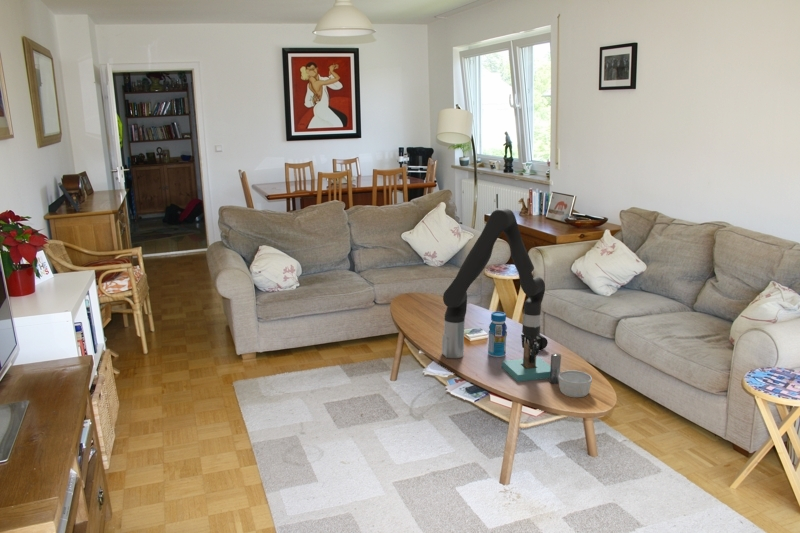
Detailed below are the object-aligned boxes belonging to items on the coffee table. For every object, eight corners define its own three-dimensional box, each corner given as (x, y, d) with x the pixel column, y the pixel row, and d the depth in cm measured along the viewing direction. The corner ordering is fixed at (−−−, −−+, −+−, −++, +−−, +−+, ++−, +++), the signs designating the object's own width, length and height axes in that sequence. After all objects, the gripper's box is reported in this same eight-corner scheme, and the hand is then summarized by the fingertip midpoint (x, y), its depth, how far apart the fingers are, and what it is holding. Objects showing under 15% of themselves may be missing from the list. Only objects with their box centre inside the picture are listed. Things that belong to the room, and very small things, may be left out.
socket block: (517, 381, 282) (517, 375, 281) (502, 367, 297) (502, 360, 296) (556, 377, 286) (556, 370, 286) (538, 363, 301) (539, 357, 301)
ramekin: (555, 395, 269) (556, 379, 267) (559, 383, 281) (560, 367, 279) (589, 401, 264) (590, 385, 263) (592, 388, 276) (593, 372, 274)
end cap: (547, 350, 318) (548, 336, 316) (533, 351, 316) (534, 338, 314) (537, 343, 327) (538, 330, 325) (524, 344, 325) (524, 331, 323)
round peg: (552, 384, 280) (554, 357, 277) (547, 380, 283) (549, 353, 280) (560, 383, 281) (562, 356, 278) (556, 379, 284) (558, 353, 281)
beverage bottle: (484, 354, 311) (485, 313, 307) (494, 349, 317) (496, 309, 313) (499, 359, 306) (501, 317, 301) (509, 354, 312) (511, 313, 307)
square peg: (526, 370, 289) (528, 344, 286) (522, 367, 293) (524, 341, 290) (535, 370, 290) (536, 344, 287) (531, 366, 294) (532, 340, 291)
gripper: (516, 318, 292) (514, 355, 296) (531, 329, 278) (528, 367, 283) (532, 317, 294) (529, 354, 298) (547, 328, 280) (544, 366, 285)
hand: (529, 360), depth 290 cm, fingers closed on square peg, 4 cm apart
